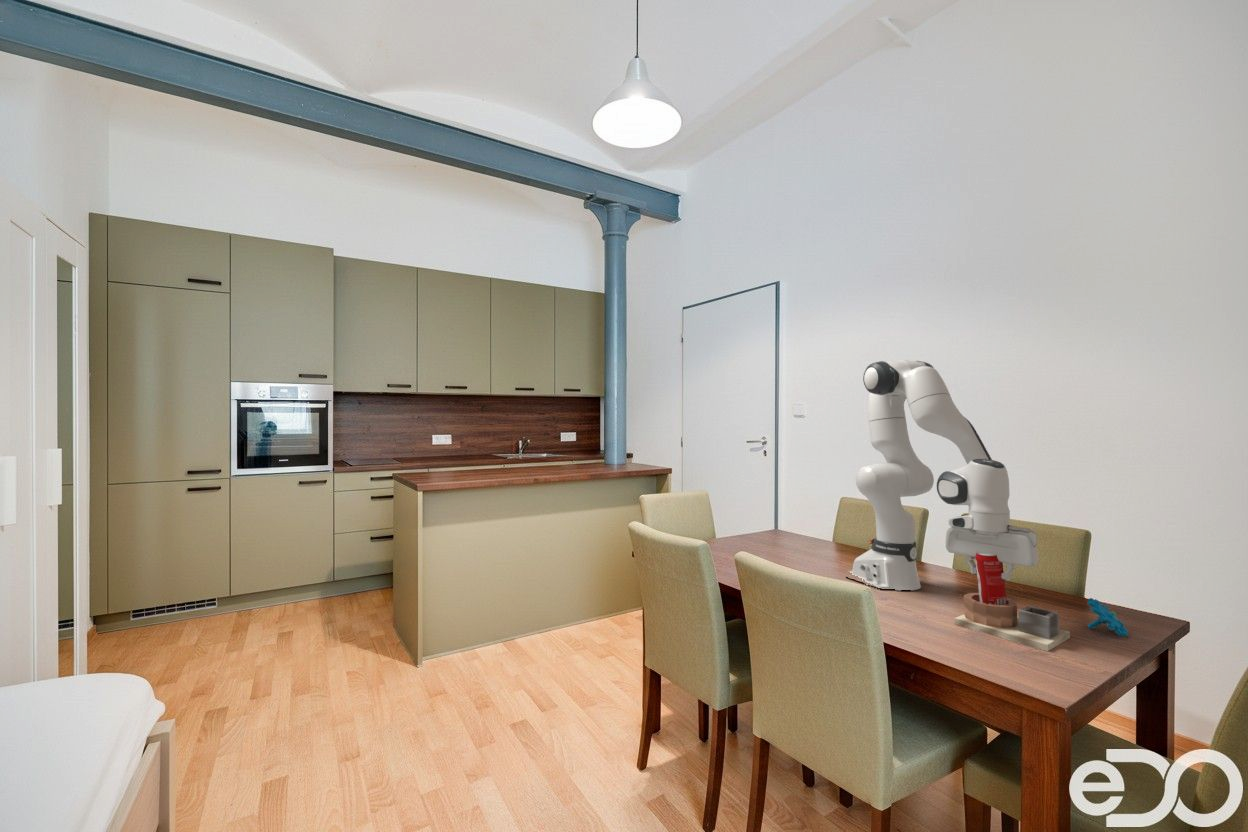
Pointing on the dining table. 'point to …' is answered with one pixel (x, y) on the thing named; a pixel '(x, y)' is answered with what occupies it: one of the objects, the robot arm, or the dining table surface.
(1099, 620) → the blue bumpy branched piece
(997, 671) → the dining table surface
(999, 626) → the cream base plate
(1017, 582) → the dining table surface
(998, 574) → the beverage can
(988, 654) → the dining table surface
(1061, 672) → the dining table surface
